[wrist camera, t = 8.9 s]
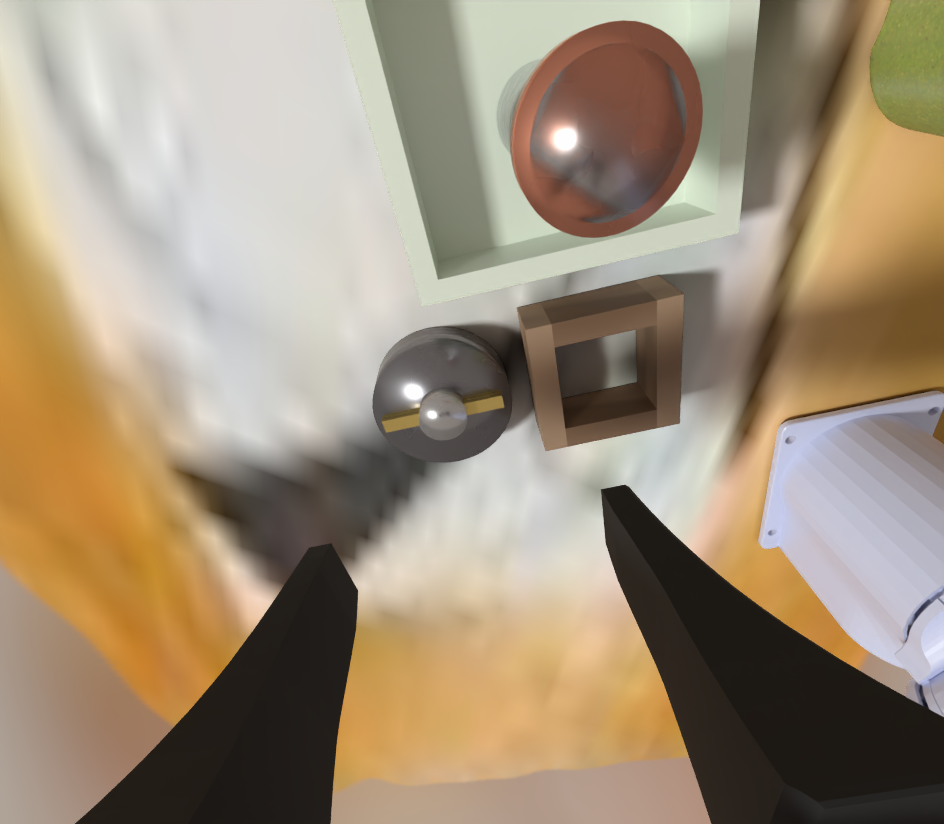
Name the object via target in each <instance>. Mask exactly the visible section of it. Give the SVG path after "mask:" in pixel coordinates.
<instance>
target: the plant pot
mask: <svg viewBox="0 0 944 824" xmlns="http://www.w3.org/2000/svg"><path fill="white" fill-rule="evenodd" d="M870 82H871V87H872V91H873V94H874V97H875V101H876V103H877V105H878V107H879V109H880V110H881V111H882V113H883V114H884V115H885V116H886V117H887V118H888V119H889V120H890V121H892V122H893V123H895V124H896V125H898V126H901V127H903V128H907V129H910V130H914V131H919V132H924V133H928V134H933V135H938V136H943V137H944V0H891V3H890V7H889V10H888V13H887V16H886V19H885V22H884V24H883V27H882V29H881V31H880V34H879V36H878V38H877V40H876V42H875V44H874V46H873V48H872V52H871V57H870Z"/></svg>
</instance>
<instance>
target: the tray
mask: <svg viewBox="0 0 944 824" xmlns="http://www.w3.org/2000/svg"><path fill="white" fill-rule="evenodd" d="M333 3H334V7H335V10H336V14H337V17H338V21H339V24H340V27H341V31H342V34H343V38H344V41H345V45H346V48H347V52H348V55H349V58H350V62H351V65H352V69H353V72H354V76H355V79H356V83H357V86H358V89H359V93H360V96H361V100H362V103H363V107H364V110H365V114H366V117H367V120H368V124H369V127H370V131H371V134H372V138H373V141H374V144H375V148H376V151H377V155H378V158H379V162H380V165H381V169H382V172H383V175H384V179H385V182H386V186H387V189H388V193H389V196H390V200H391V203H392V206H393V210H394V213H395V217H396V220H397V224H398V227H399V231H400V234H401V237H402V241H403V244H404V248H405V251H406V255H407V258H408V262H409V265H410V268H411V272H412V275H413V279H414V282H415V286H416V289H417V292H418V296H419V299H420V303H421V306H422V307H425V306H429V305H433V304H437V303H442V302H446V301H450V300H455V299H459V298H463V297H467V296H472V295H476V294H480V293H485V292H489V291H493V290H497V289H502V288H506V287H510V286H515V285H519V284H523V283H527V282H532V281H536V280H540V279H545V278H549V277H553V276H557V275H562V274H566V273H570V272H575V271H579V270H583V269H588V268H592V267H596V266H600V265H605V264H609V263H613V262H618V261H622V260H626V259H630V258H635V257H639V256H643V255H648V254H652V253H656V252H660V251H665V250H669V249H673V248H678V247H682V246H686V245H690V244H695V243H699V242H703V241H708V240H712V239H716V238H720V237H725V236H729V235H733V234H738V233H739V224H740V213H741V202H742V192H743V181H744V170H745V159H746V148H747V138H748V127H749V116H750V105H751V94H752V83H753V73H754V62H755V51H756V40H757V29H758V19H759V8H760V0H333ZM622 20H626V21H638V22H642V23H646V24H650V25H652V26H654V27H656V28H658V29H661V30H662V31H664V32H665V33H667V34H668V35H669V36H671V37H672V38H673V39H674V40H675V41H676V42H677V43H678V44H679V45H680V46H681V47H682V48H683V50H684V51H685V52H686V54H687V55H688V57H689V58H690V60H691V62H692V64H693V66H694V68H695V71H696V74H697V77H698V80H699V83H700V88H701V94H702V104H703V117H702V128H701V134H700V140H699V143H698V146H697V150H696V153H695V156H694V158H693V161H692V163H691V166H690V168H689V170H688V172H687V174H686V176H685V178H684V179H683V181H682V182H681V184H680V185H679V187H678V188H677V190H676V191H675V193H674V194H673V195H672V196H671V197H670V199H669V200H668V201H667V202H666V203H665V204H664V205H663V206H662V207H661V208H660V209H659V210H658V211H657V212H656V213H654V214H653V215H652V216H651V217H649V218H648V219H647V220H645V221H644V222H642V223H641V224H639V225H637V226H635V227H633V228H631V229H629V230H627V231H624V232H622V233H619V234H616V235H611V236H607V237H599V238H584V237H579V236H573V235H570V234H567V233H564V232H562V231H560V230H558V229H556V228H554V227H553V226H551V225H550V224H548V223H547V222H546V221H545V220H543V219H542V218H541V217H540V216H539V215H538V214H537V213H536V211H535V210H534V209H533V207H532V206H531V205H530V203H529V202H528V200H527V199H526V197H525V195H524V194H523V192H522V190H521V188H520V187H519V184H518V182H517V179H516V177H515V174H514V170H513V166H512V161H511V155H510V154H509V152H508V151H507V150H506V148H505V147H504V145H503V143H502V141H501V139H500V136H499V133H498V128H497V118H496V116H497V106H498V101H499V98H500V95H501V92H502V90H503V88H504V86H505V84H506V83H507V81H508V80H509V79H510V77H511V76H512V75H513V74H514V73H515V72H516V71H517V70H518V69H519V68H521V67H522V66H524V65H525V64H527V63H530V62H532V61H535V60H539V59H543V58H544V57H545V56H546V54H547V53H548V52H549V51H551V50H552V49H553V48H554V47H555V46H557V45H558V44H559V43H560V42H562V41H563V40H565V39H567V38H568V37H570V36H571V35H573V34H576V33H578V32H580V31H582V30H585V29H587V28H590V27H593V26H596V25H599V24H603V23H607V22H612V21H622Z"/></svg>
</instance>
